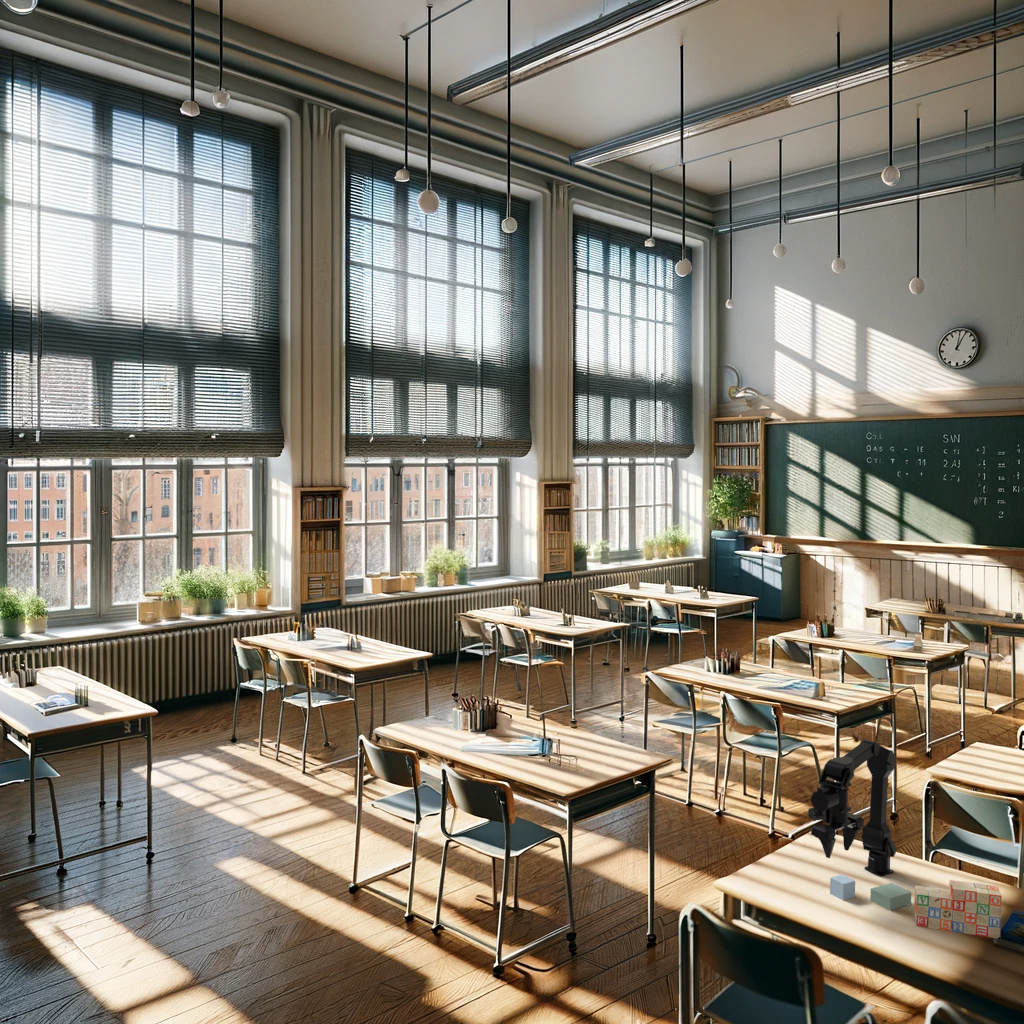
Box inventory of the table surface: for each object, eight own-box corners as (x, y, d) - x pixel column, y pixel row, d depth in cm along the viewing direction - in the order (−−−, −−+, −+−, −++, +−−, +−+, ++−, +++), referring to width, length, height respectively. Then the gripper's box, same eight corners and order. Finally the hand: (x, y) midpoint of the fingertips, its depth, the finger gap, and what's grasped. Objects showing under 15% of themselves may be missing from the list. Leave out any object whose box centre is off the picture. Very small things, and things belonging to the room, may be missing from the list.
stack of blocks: (915, 926, 260) (916, 883, 260) (913, 916, 266) (914, 874, 266) (1000, 939, 254) (1002, 895, 253) (996, 928, 259) (998, 885, 259)
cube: (841, 890, 283) (842, 874, 283) (854, 897, 278) (855, 880, 278) (830, 893, 280) (830, 877, 280) (842, 900, 276) (843, 884, 276)
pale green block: (891, 895, 280) (891, 882, 280) (911, 905, 274) (911, 891, 274) (870, 901, 276) (870, 888, 276) (889, 911, 270) (890, 898, 269)
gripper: (833, 789, 291) (832, 838, 292) (796, 802, 280) (795, 852, 281) (865, 799, 282) (864, 849, 283) (828, 813, 271) (827, 865, 272)
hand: (837, 853), depth 280 cm, fingers open, 9 cm apart
